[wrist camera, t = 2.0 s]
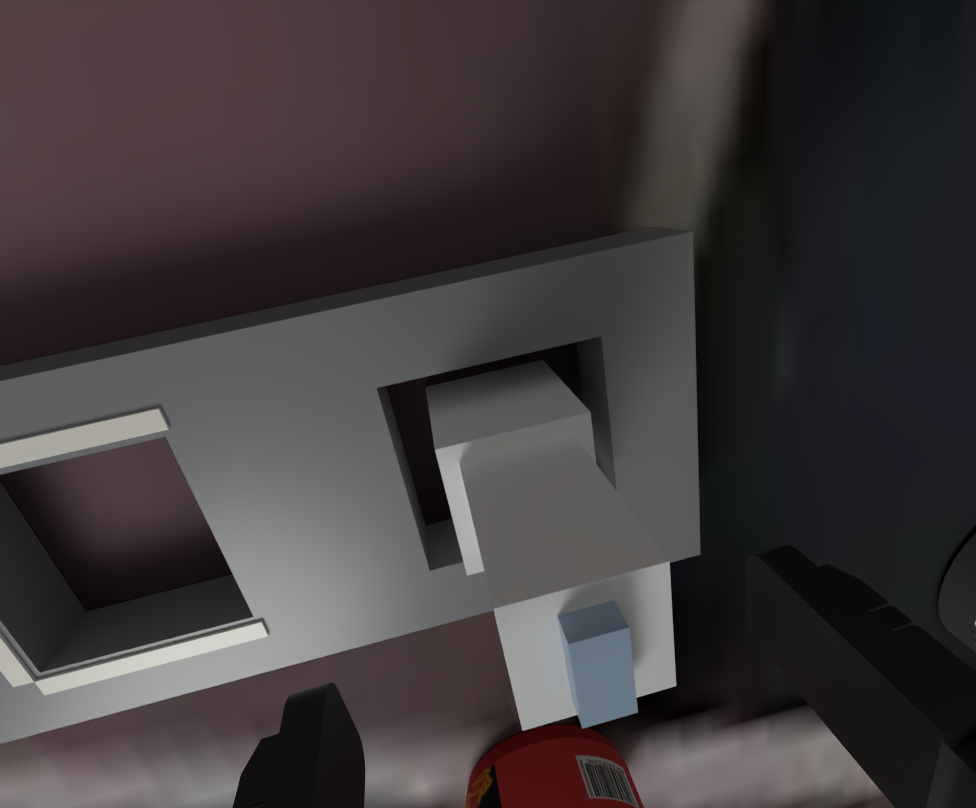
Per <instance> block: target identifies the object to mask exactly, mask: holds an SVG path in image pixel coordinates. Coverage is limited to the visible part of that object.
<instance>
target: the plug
mask: <svg viewBox="0 0 976 808" xmlns="http://www.w3.org/2000/svg"><path fill="white" fill-rule="evenodd" d="M425 388H426V395H427V401H428V408H429V415H430V421H431V428H432V434H433V441H434V447H435V452H436V456H437V460H438V464H439V468H440V472H441V476H442V480H443V484H444V488H445V491H446V495H447V499H448V503H449V507H450V511H451V515H452V519H453V523H454V527H455V531H456V534H457V538H458V542H459V546H460V550H461V554H462V558H463V562H464V566H465V570H466V574H467V575H471V574H475V573H479V572H483V571H485V575H486V580H487V584H488V588H489V592H490V597H491V601H492V605H493V609H494V613H495V618H496V622H497V626H498V630H499V635H500V639H501V643H502V647H503V651H504V656H505V660H506V664H507V668H508V672H509V677H510V681H511V685H512V689H513V693H514V698H515V702H516V706H517V710H518V715H519V719H520V723H521V727H522V731H524V730H527V729H531V728H534V727H538V726H541V725H545V724H548V723H551V722H555V721H558V720H562V719H565V718H569V717H572V716H575V715H578V718H579V721H580V723H581V726H582V729H583V728H587V727H590V726H594V725H597V724H600V723H604V722H607V721H610V720H614V719H617V718H621V717H624V716H627V715H631V714H634V713H638V708H637V697H641V696H644V695H647V694H651V693H654V692H658V691H661V690H665V689H668V688H671V687H675V686H676V672H675V653H674V635H673V616H672V598H671V579H670V561H669V560H668V559H667V557H666V556H665V555H664V553H663V552H662V551H661V549H660V548H659V547H658V545H657V544H656V543H655V541H654V540H653V539H652V537H651V536H650V535H649V533H648V532H647V531H646V529H645V528H644V527H643V525H642V524H641V523H640V522H639V520H638V519H637V518H636V516H635V515H634V514H633V512H632V511H631V510H630V508H629V507H628V506H627V504H626V503H625V502H624V500H623V499H622V498H621V496H620V495H619V494H618V492H617V491H616V490H615V488H614V487H613V486H612V484H611V483H610V482H609V480H608V479H607V478H606V476H605V475H604V474H603V472H602V471H601V470H600V468H599V467H598V466H597V464H596V456H595V447H594V439H593V430H592V421H591V412H590V411H589V410H588V409H587V408H586V407H585V406H584V404H583V403H582V402H581V401H580V400H579V399H578V398H577V397H576V396H575V395H574V394H573V392H572V391H571V390H570V389H569V388H568V387H567V386H566V385H565V384H564V383H563V381H562V380H561V379H560V378H559V377H558V376H557V375H556V374H555V373H554V372H553V370H552V369H551V368H550V367H549V366H548V365H547V364H546V363H545V362H544V361H543V360H540V361H535V362H531V363H527V364H522V365H518V366H514V367H509V368H505V369H501V370H496V371H492V372H488V373H484V374H479V375H475V376H471V377H466V378H462V379H458V380H453V381H449V382H445V383H440V384H436V385H432V386H427V387H425Z"/></svg>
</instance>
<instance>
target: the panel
mask: <svg viewBox="0 0 976 808" xmlns="http://www.w3.org/2000/svg"><path fill="white" fill-rule="evenodd" d="M575 342H576V343H577V352H578V360H579V369H580V377H581V385H582V394H583V402H584V406H585V407H586V408H587V409H588V410H589V411H590V412H591V421H592V430H593V439H594V447H595V456H596V464H597V466H598V467H599V468H600V470H601V471H602V472H603V474H604V475H605V476H606V478H607V479H608V480H609V482H610V483H611V484H612V486H613V487H614V488H615V490H616V491H617V492H618V494H619V495H620V496H621V498H622V499H623V500H624V502H625V503H626V504H627V506H628V507H629V508H630V510H631V511H632V512H633V514H634V515H635V516H636V518H637V519H638V520H639V522H640V523H641V524H642V525H643V527H644V528H645V529H646V531H647V532H648V533H649V535H650V536H651V537H652V539H653V540H654V541H655V543H656V544H657V545H658V547H659V548H660V549H661V551H662V552H663V553H664V555H665V556H666V557H667V559H668V560H669V561H670V563H671V562H675V561H678V560H682V559H686V558H689V557H693V556H697V555H700V514H699V471H698V428H697V385H696V342H695V298H694V255H693V231H684V230H675V229H666V228H657V227H647V228H643V229H638V230H633V231H629V232H624V233H619V234H615V235H610V236H605V237H601V238H596V239H591V240H587V241H582V242H577V243H573V244H568V245H563V246H559V247H554V248H549V249H545V250H540V251H535V252H531V253H526V254H521V255H516V256H512V257H507V258H502V259H498V260H493V261H488V262H484V263H479V264H474V265H470V266H465V267H460V268H456V269H451V270H446V271H442V272H437V273H432V274H428V275H423V276H418V277H414V278H409V279H404V280H400V281H395V282H390V283H386V284H381V285H376V286H372V287H367V288H362V289H358V290H353V291H348V292H343V293H339V294H334V295H329V296H325V297H320V298H315V299H311V300H306V301H301V302H297V303H292V304H287V305H283V306H278V307H273V308H269V309H264V310H259V311H255V312H250V313H245V314H241V315H236V316H231V317H227V318H222V319H217V320H213V321H208V322H203V323H199V324H194V325H189V326H184V327H180V328H175V329H170V330H166V331H161V332H156V333H152V334H147V335H142V336H138V337H133V338H128V339H124V340H119V341H114V342H110V343H105V344H100V345H96V346H91V347H86V348H82V349H77V350H72V351H68V352H63V353H58V354H54V355H49V356H44V357H40V358H35V359H30V360H25V361H21V362H16V363H11V364H7V365H2V366H0V475H1V474H5V473H10V472H14V471H18V470H23V469H27V468H31V467H36V466H40V465H44V464H49V463H53V462H57V461H62V460H66V459H70V458H75V457H79V456H83V455H88V454H92V453H96V452H101V451H105V450H110V449H114V448H118V447H123V446H127V445H131V444H136V443H140V442H144V441H149V440H153V439H157V438H162V437H166V438H167V440H168V443H169V445H170V447H171V449H172V451H173V453H174V455H175V457H176V459H177V461H178V463H179V465H180V467H181V469H182V471H183V473H184V475H185V477H186V479H187V481H188V483H189V485H190V488H191V490H192V492H193V494H194V496H195V498H196V500H197V502H198V504H199V506H200V508H201V510H202V512H203V514H204V516H205V518H206V520H207V522H208V524H209V526H210V528H211V531H212V533H213V535H214V537H215V539H216V541H217V543H218V545H219V547H220V549H221V551H222V553H223V555H224V557H225V559H226V561H227V563H228V565H229V567H230V569H231V571H232V575H228V576H224V577H220V578H216V579H212V580H208V581H204V582H200V583H196V584H192V585H188V586H185V587H181V588H177V589H173V590H169V591H165V592H161V593H157V594H153V595H149V596H145V597H141V598H137V599H133V600H129V601H125V602H121V603H118V604H114V605H110V606H106V607H102V608H98V609H94V610H90V611H85V609H84V608H83V606H82V605H81V603H80V602H79V600H78V599H77V597H76V596H75V594H74V593H73V591H72V590H71V588H70V587H69V585H68V584H67V582H66V580H65V579H64V577H63V576H62V574H61V573H60V571H59V570H58V568H57V567H56V565H55V564H54V562H53V561H52V559H51V558H50V556H49V555H48V553H47V552H46V550H45V549H44V547H43V546H42V544H41V543H40V541H39V539H38V538H37V536H36V535H35V533H34V532H33V530H32V529H31V527H30V526H29V524H28V523H27V521H26V520H25V518H24V517H23V515H22V514H21V512H20V511H19V509H18V508H17V506H16V505H15V503H14V502H13V500H12V499H11V497H10V495H9V494H8V492H7V491H6V489H5V488H4V486H3V485H2V483H1V482H0V744H1V743H5V742H9V741H13V740H16V739H20V738H24V737H27V736H31V735H35V734H38V733H42V732H46V731H50V730H53V729H57V728H61V727H64V726H68V725H72V724H75V723H79V722H83V721H87V720H90V719H94V718H98V717H101V716H105V715H109V714H112V713H116V712H120V711H123V710H127V709H131V708H135V707H138V706H142V705H146V704H149V703H153V702H157V701H160V700H164V699H168V698H172V697H175V696H179V695H183V694H186V693H190V692H194V691H197V690H201V689H205V688H209V687H212V686H216V685H220V684H223V683H227V682H231V681H234V680H238V679H242V678H246V677H249V676H253V675H257V674H260V673H264V672H268V671H271V670H275V669H279V668H283V667H286V666H290V665H294V664H297V663H301V662H305V661H308V660H312V659H316V658H320V657H323V656H327V655H331V654H334V653H338V652H342V651H345V650H349V649H353V648H357V647H360V646H364V645H368V644H371V643H375V642H379V641H382V640H386V639H390V638H394V637H397V636H401V635H405V634H408V633H412V632H416V631H419V630H423V629H427V628H431V627H434V626H438V625H442V624H445V623H449V622H453V621H456V620H460V619H464V618H467V617H471V616H475V615H479V614H482V613H486V612H490V611H493V610H494V609H493V605H492V601H491V597H490V592H489V588H488V584H487V580H486V575H485V571H483V572H479V573H475V574H471V575H467V574H466V570H465V566H464V562H463V558H462V554H461V550H460V546H459V542H458V538H457V534H456V531H455V527H454V523H453V519H448V520H445V521H441V522H437V523H433V524H429V525H426V524H425V521H424V517H423V514H422V510H421V506H420V503H419V499H418V496H417V492H416V489H415V485H414V482H413V478H412V475H411V471H410V468H409V464H408V461H407V457H406V453H405V450H404V446H403V443H402V439H401V436H400V432H399V429H398V425H397V422H396V418H395V415H394V411H393V408H392V404H391V400H390V397H389V393H388V390H387V386H388V385H392V384H396V383H401V382H405V381H409V380H414V379H418V378H422V377H427V376H431V375H435V374H440V373H444V372H448V371H453V370H457V369H462V368H466V367H470V366H475V365H479V364H483V363H488V362H492V361H496V360H501V359H505V358H509V357H514V356H518V355H522V354H527V353H531V352H535V351H540V350H544V349H548V348H553V347H557V346H561V345H566V344H570V343H575Z"/></svg>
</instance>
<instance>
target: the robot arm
mask: <svg viewBox="0 0 976 808" xmlns="http://www.w3.org/2000/svg"><path fill="white" fill-rule="evenodd" d="M938 609H939V614H940V619H941V621H942V623H943V624H944V626H945V627H946V629H947V630H948V631H950V632H951V633H952V634H953V635H955V636H956V637H957V638H958V639H960V640H961V641H962V642H964V643H965V644H966V645H967V646H969V647H970V648H971V649H972V650H974V651H975V652H976V534H975V535H974V536H973V537H972V538H971V539H970V540H969V541H968V542H967V543H966V544H965V546H964V547H963V548H962V550H961V551H960V552H959V554H958V555H957V556H956V558H955V559H954V561H953V563H952V564H951V566H950V568H949V570H948V572H947V574H946V575H945V578H944V581H943V584H942V587H941V590H940V593H939V603H938ZM746 615H747V620H748V624H749V627H750V629H751V631H752V634H753V635H754V637H755V639H756V641H757V642H758V644H759V645H760V647H761V648H762V649H763V651H764V652H765V653H766V654H767V655H768V656H769V658H770V659H771V660H772V661H773V662H774V664H775V665H776V666H777V667H778V668H779V670H780V671H781V672H782V673H783V674H784V676H785V677H786V678H787V679H788V680H789V682H790V683H791V684H792V685H793V686H794V688H795V689H796V690H797V691H798V692H799V693H800V695H801V696H802V697H803V698H804V699H805V701H806V702H807V703H808V704H809V705H810V707H811V708H812V709H813V710H814V711H815V713H816V714H817V715H818V716H819V717H820V719H821V720H822V721H823V722H824V723H825V725H826V726H827V727H828V728H829V729H830V731H831V732H832V733H833V734H834V735H835V736H836V738H837V739H838V740H839V741H840V742H841V744H842V745H843V746H844V747H845V748H846V750H847V751H848V752H849V753H850V754H851V756H852V757H853V758H854V759H855V760H856V762H857V763H858V764H859V765H860V766H861V768H862V769H863V770H864V771H865V772H866V773H867V775H868V776H869V777H870V778H871V779H872V781H873V782H874V783H875V784H876V785H877V787H878V788H879V789H880V790H881V791H882V793H883V794H884V795H885V796H886V797H887V799H888V800H889V801H890V802H891V803H892V805H893V806H894V807H895V808H976V672H975V671H974V670H973V669H972V668H970V667H969V666H968V665H967V664H965V663H964V662H963V661H962V660H960V659H959V658H958V657H957V656H955V655H954V654H953V653H952V652H950V651H949V650H948V649H947V648H945V647H944V646H943V645H942V644H940V643H939V642H938V641H937V640H935V639H934V638H933V637H932V636H930V635H929V634H928V633H927V632H925V631H924V630H923V629H922V628H920V627H919V626H915V625H914V624H913V623H912V620H910V619H909V618H908V617H907V616H905V615H904V614H903V613H902V612H900V611H899V610H898V609H897V608H895V607H894V606H893V607H891V606H890V605H889V603H888V601H887V600H885V599H884V598H883V597H882V596H880V595H879V594H878V593H877V592H875V591H874V590H873V589H872V588H870V587H869V586H868V585H867V584H865V583H864V582H863V581H862V580H860V579H858V578H856V577H854V576H852V575H850V574H847V573H845V572H843V571H841V570H839V569H837V568H835V567H832V566H830V565H828V564H826V565H823V566H820V567H817V566H816V565H815V564H814V563H812V562H811V561H810V560H809V559H808V558H807V557H805V556H804V555H803V554H802V553H801V552H799V551H798V550H797V549H796V548H794V547H792V546H789V545H785V546H781V547H778V548H775V549H771V550H768V551H765V552H762V553H758V554H755V555H752V556H750V557H748V559H747V562H746ZM364 794H365V760H364V752H363V747H362V742H361V739H360V736H359V733H358V731H357V729H356V727H355V725H354V723H353V720H352V718H351V716H350V714H349V712H348V710H347V708H346V706H345V703H344V701H343V699H342V697H341V695H340V693H339V691H338V689H337V687H336V685H335V684H334V683H328V684H325V685H322V686H319V687H315V688H312V689H309V690H306V691H302V692H299V693H296V694H292V695H290V696H289V697H288V699H287V701H286V703H285V707H284V712H283V717H282V722H281V727H280V732H279V734H276V735H273V736H270V737H266V738H263V739H261V741H260V742H259V744H258V746H257V748H256V749H255V751H254V753H253V755H252V756H251V758H250V760H249V761H248V763H247V765H246V767H245V768H244V770H243V772H242V774H241V777H240V781H239V785H238V789H237V793H236V796H235V800H234V804H233V808H364Z"/></svg>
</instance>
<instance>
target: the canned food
mask: <svg viewBox="0 0 976 808" xmlns="http://www.w3.org/2000/svg"><path fill="white" fill-rule="evenodd" d="M466 808H644V807H643V804H642V802H641V799H640V797H639V794H638V792H637V790H636V787H635V785H634V782H633V780H632V777H631V775H630V773H629V770H628V768H627V765H626V763H625V761H624V759H623V757H622V756H621V755H620V754H619V752H618V751H617V750H616V748H615V747H614V746H613V744H612V743H611V742H610V741H609V740H608V739H607V738H606V737H605V736H603V735H602V734H600V733H599V732H597V731H595V730H592V729H589V728H583V729H582V726H575V725H549V726H542V727H538V728H534V729H530V730H527V731H524V732H522V733H519V734H517V735H514V736H512V737H510V738H508V739H507V740H505V741H503V742H502V743H500V744H498V745H497V746H496V747H495V748H493V749H492V750H491V751H490V752H488V753H487V754H486V755H485V756H484V757H483V758H482V760H481V761H480V762H479V763H478V764H477V766H476V767H475V769H474V771H473V772H472V774H471V777H470V781H469V784H468V790H467V797H466Z"/></svg>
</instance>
